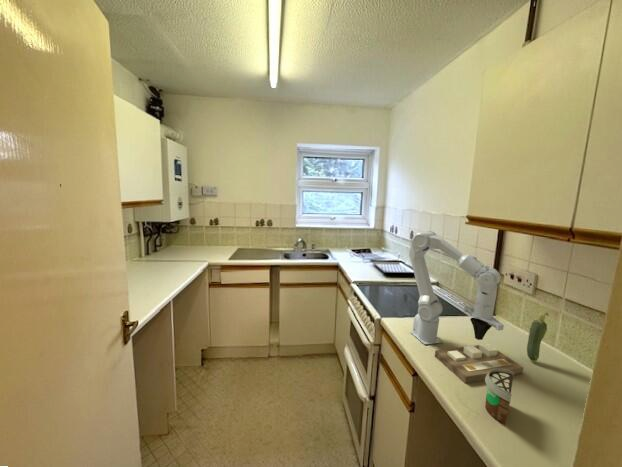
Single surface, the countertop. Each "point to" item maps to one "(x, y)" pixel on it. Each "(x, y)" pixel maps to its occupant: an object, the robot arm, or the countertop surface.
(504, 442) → the countertop surface
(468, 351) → the middle button
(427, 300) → the robot arm
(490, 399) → the food container
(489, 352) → the far button
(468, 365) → the button board
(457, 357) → the near button
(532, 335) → the vegetable
